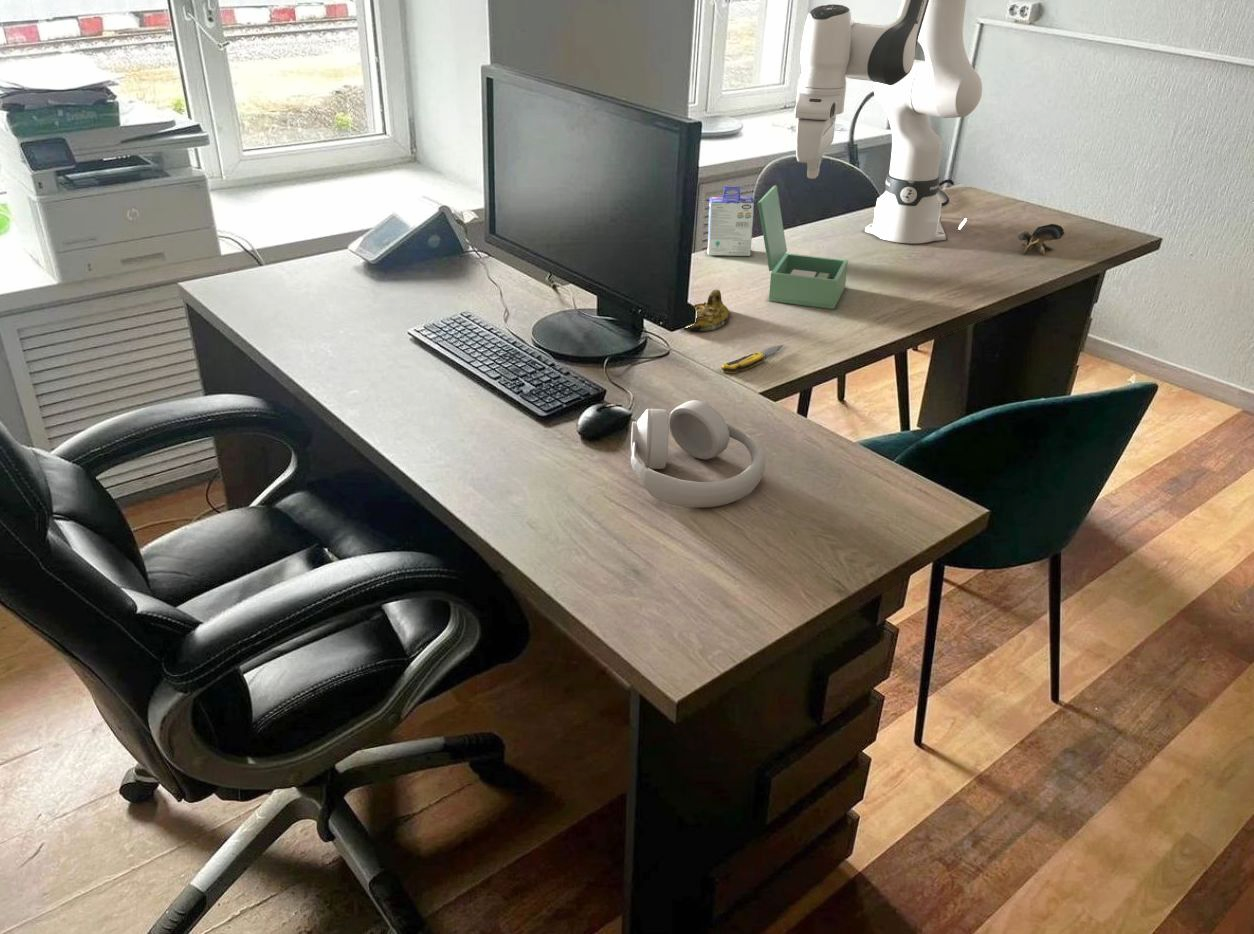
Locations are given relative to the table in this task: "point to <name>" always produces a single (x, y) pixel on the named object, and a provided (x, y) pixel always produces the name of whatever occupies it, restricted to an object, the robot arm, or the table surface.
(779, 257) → the cover
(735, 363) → the utility knife
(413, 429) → the table surface
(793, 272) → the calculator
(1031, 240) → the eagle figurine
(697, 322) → the seal
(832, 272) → the green box
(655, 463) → the headphones
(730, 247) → the ink cartridge box
